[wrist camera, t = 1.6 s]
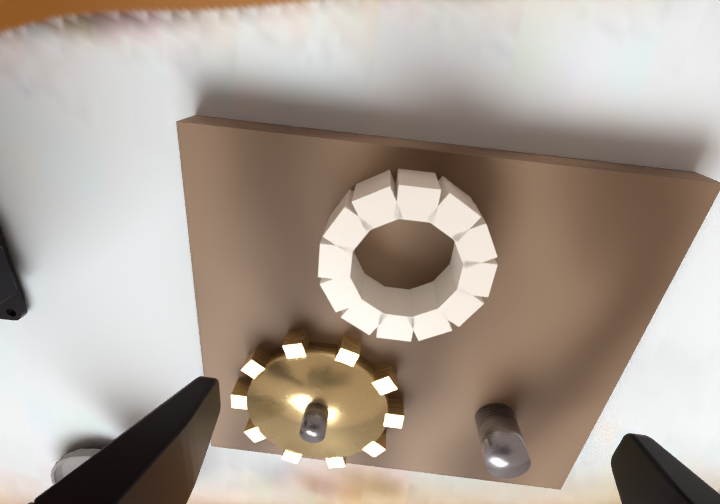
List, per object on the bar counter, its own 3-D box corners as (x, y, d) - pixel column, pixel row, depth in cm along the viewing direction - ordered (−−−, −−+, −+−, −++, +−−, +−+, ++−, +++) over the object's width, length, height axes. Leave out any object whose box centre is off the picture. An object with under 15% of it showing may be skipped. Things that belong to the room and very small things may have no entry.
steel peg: (470, 428, 21) (480, 475, 19) (479, 400, 20) (491, 447, 18) (508, 433, 21) (523, 480, 19) (519, 406, 20) (536, 452, 18)
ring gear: (322, 302, 18) (314, 330, 16) (331, 160, 15) (323, 176, 13) (464, 319, 18) (472, 349, 16) (501, 180, 15) (517, 198, 13)
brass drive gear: (241, 440, 23) (226, 479, 20) (234, 320, 19) (215, 353, 17) (391, 458, 22) (391, 500, 20) (415, 342, 19) (418, 378, 17)
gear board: (221, 424, 24) (211, 446, 23) (193, 115, 16) (176, 121, 15) (550, 464, 24) (560, 489, 23) (695, 172, 16) (723, 183, 14)
